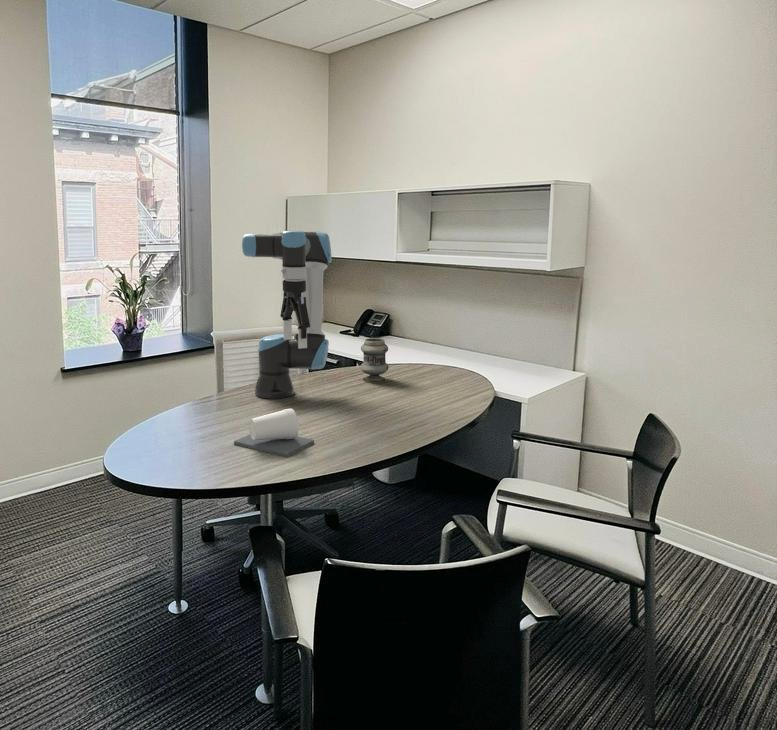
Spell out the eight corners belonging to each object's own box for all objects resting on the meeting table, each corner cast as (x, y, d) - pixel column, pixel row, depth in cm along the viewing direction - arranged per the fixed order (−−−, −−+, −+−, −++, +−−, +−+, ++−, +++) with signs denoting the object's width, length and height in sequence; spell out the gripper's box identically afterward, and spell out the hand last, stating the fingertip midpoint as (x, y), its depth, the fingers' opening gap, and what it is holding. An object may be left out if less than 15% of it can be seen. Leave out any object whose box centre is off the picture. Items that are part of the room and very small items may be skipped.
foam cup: (245, 416, 198) (285, 411, 204) (250, 446, 196) (290, 440, 203) (254, 411, 190) (295, 406, 196) (259, 442, 188) (300, 435, 195)
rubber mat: (234, 444, 196) (233, 441, 196) (263, 431, 208) (263, 428, 208) (286, 456, 187) (286, 453, 187) (314, 442, 199) (314, 439, 199)
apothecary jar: (355, 378, 280) (356, 337, 276) (380, 375, 286) (381, 336, 282) (367, 384, 270) (368, 342, 266) (392, 382, 275) (394, 341, 271)
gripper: (270, 275, 216) (271, 336, 221) (297, 285, 195) (298, 353, 200) (291, 274, 219) (292, 335, 225) (320, 284, 198) (320, 350, 204)
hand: (295, 343), depth 212 cm, fingers open, 13 cm apart
